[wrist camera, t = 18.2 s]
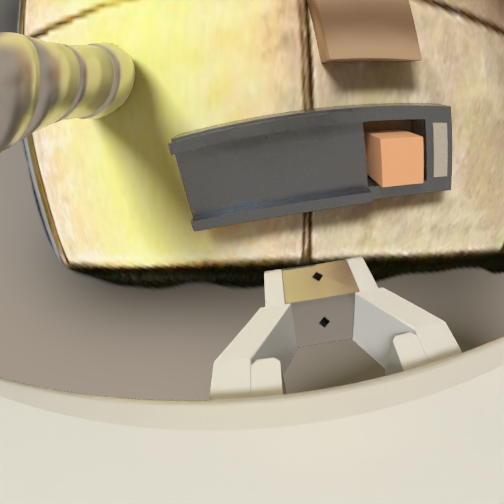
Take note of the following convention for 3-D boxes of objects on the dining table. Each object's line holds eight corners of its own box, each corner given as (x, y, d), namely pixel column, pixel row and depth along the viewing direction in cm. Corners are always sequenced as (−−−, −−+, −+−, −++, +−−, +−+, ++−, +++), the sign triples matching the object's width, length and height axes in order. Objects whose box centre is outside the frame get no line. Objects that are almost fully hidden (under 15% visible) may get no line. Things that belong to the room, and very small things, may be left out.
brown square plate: (302, -18, 16) (307, -30, 14) (387, -15, 15) (401, -23, 13) (321, 62, 20) (329, 59, 18) (405, 61, 19) (421, 60, 17)
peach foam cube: (380, 139, 20) (423, 136, 19) (363, 131, 23) (401, 129, 23) (382, 187, 22) (423, 183, 21) (366, 173, 25) (403, 169, 25)
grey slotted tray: (178, 134, 24) (167, 141, 21) (436, 103, 21) (456, 107, 18) (201, 216, 28) (194, 233, 25) (437, 181, 25) (456, 193, 22)
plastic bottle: (151, 48, 19) (-45, 14, 2) (134, 120, 23) (-57, 210, 5) (90, 45, 18) (-101, 49, 1) (76, 112, 22) (-106, 188, 5)
